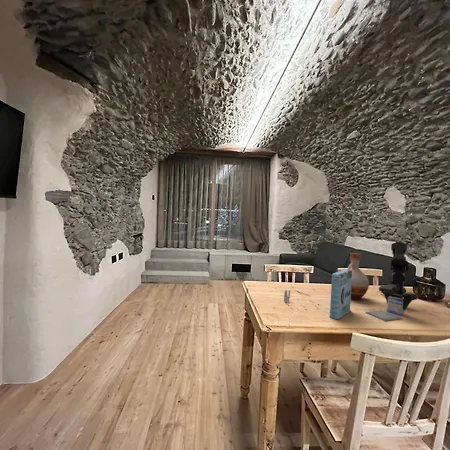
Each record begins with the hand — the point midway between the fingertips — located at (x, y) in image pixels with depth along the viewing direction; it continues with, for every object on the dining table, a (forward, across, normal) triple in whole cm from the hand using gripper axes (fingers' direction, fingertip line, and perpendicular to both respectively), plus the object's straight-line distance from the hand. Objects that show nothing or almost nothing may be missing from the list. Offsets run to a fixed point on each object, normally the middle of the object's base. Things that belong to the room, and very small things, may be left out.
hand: (396, 307), depth 148 cm
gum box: (+3, -6, -34) cm, 35 cm away
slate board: (+3, +2, -12) cm, 13 cm away
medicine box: (+3, 0, 0) cm, 3 cm away
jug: (+3, -28, -3) cm, 28 cm away
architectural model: (+4, -28, -47) cm, 55 cm away
